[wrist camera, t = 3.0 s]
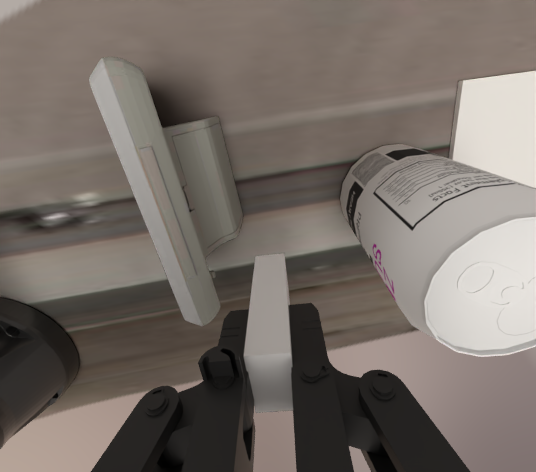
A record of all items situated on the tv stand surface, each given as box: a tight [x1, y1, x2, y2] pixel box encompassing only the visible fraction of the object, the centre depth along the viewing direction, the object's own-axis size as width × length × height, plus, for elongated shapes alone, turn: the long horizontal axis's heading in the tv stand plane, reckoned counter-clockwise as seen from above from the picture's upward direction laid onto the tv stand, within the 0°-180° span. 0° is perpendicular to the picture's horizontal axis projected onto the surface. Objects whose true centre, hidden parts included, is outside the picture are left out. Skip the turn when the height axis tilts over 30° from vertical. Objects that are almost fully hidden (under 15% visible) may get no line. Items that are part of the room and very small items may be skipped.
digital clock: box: [89, 57, 243, 326], centre depth 21 cm, size 16×9×11 cm, turn 0°
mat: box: [449, 71, 536, 188], centre depth 25 cm, size 10×16×1 cm, turn 7°
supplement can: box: [340, 144, 536, 357], centre depth 19 cm, size 8×8×15 cm
